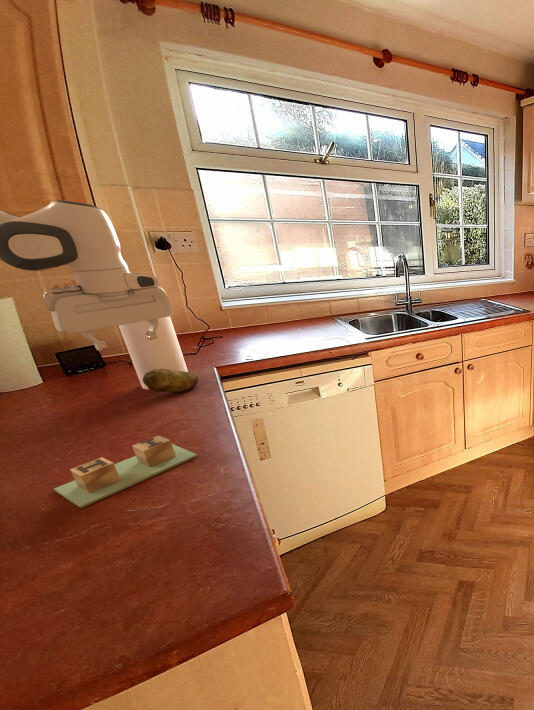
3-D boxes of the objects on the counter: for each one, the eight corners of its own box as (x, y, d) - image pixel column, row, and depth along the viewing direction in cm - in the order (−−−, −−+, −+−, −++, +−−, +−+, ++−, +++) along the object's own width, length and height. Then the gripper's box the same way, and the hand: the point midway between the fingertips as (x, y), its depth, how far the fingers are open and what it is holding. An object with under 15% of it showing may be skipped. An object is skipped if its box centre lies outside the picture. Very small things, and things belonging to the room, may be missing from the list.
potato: (202, 390, 130) (194, 365, 127) (149, 401, 122) (139, 376, 119) (199, 382, 136) (192, 359, 133) (148, 393, 128) (139, 368, 125)
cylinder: (189, 372, 145) (165, 299, 136) (190, 383, 136) (164, 305, 126) (143, 381, 138) (114, 305, 129) (140, 392, 129) (109, 311, 119)
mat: (80, 508, 78) (79, 506, 77) (54, 490, 83) (53, 488, 83) (197, 456, 94) (197, 454, 94) (169, 444, 99) (168, 442, 99)
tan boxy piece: (149, 467, 89) (143, 450, 87) (138, 461, 91) (131, 445, 90) (176, 456, 93) (170, 439, 92) (164, 450, 95) (158, 434, 94)
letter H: (89, 493, 81) (80, 475, 79) (77, 486, 83) (69, 468, 82) (121, 479, 85) (113, 462, 83) (109, 473, 87) (101, 456, 86)
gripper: (45, 290, 81) (74, 359, 86) (166, 277, 98) (184, 335, 103) (33, 288, 84) (61, 354, 89) (152, 275, 101) (171, 332, 106)
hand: (128, 344), depth 96 cm, fingers open, 8 cm apart
